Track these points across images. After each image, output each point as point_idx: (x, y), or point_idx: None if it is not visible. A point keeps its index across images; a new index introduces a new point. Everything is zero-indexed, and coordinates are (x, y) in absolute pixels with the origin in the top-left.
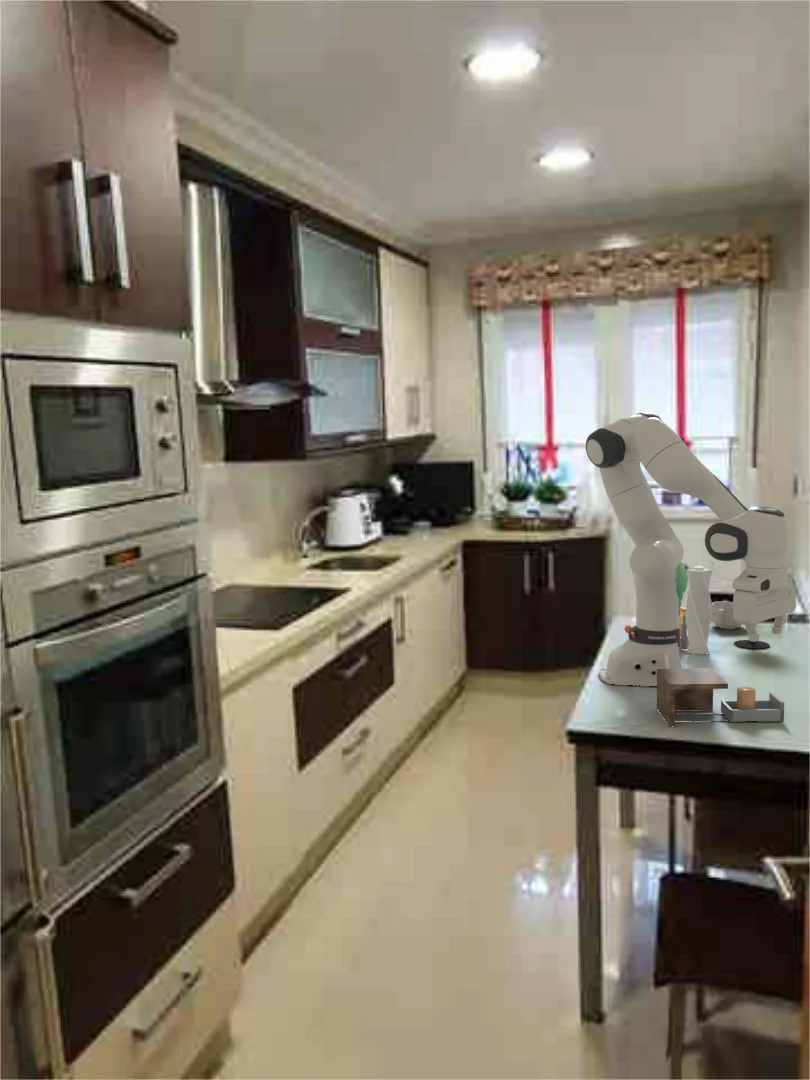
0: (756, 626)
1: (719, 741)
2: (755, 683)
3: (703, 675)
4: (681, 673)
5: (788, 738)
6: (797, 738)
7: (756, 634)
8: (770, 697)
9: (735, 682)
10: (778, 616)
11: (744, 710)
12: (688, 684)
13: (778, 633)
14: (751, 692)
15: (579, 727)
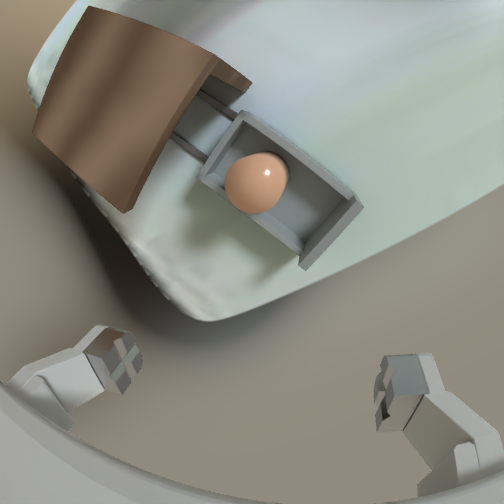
0: (67, 421)
1: (123, 223)
2: (496, 71)
3: (123, 107)
4: (95, 62)
5: (231, 294)
6: (245, 304)
7: (97, 386)
8: (348, 205)
9: (468, 31)
10: (432, 486)
11: (225, 198)
12: (54, 153)
13: (375, 393)
14: (243, 210)
15: (31, 70)
